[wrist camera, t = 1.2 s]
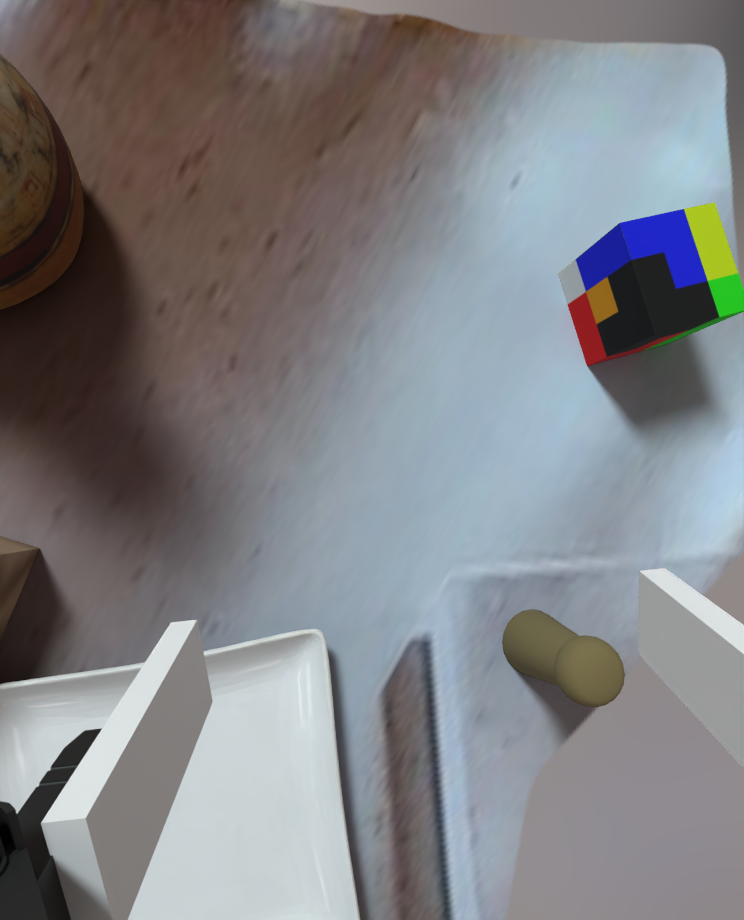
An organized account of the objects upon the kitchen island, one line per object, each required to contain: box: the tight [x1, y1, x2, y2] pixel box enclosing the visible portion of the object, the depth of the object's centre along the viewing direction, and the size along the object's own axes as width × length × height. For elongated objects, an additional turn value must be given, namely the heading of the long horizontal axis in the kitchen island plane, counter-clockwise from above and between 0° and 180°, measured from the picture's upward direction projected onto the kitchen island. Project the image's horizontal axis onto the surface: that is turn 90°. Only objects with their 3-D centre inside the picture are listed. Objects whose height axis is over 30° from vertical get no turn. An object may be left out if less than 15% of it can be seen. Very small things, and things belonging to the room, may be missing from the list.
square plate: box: [0, 629, 360, 920], centre depth 42 cm, size 27×27×4 cm
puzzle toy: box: [558, 202, 744, 366], centre depth 51 cm, size 10×10×10 cm
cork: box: [502, 609, 625, 707], centre depth 45 cm, size 6×6×11 cm
